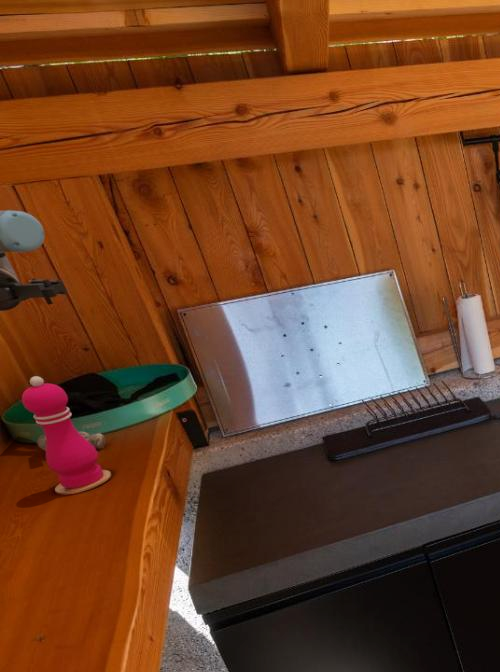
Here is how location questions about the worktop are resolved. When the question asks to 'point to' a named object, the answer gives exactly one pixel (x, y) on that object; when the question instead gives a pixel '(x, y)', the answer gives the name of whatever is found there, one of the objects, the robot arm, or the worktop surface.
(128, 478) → the worktop surface
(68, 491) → the cork mat
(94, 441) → the stone
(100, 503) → the worktop surface
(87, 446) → the pepper mill
